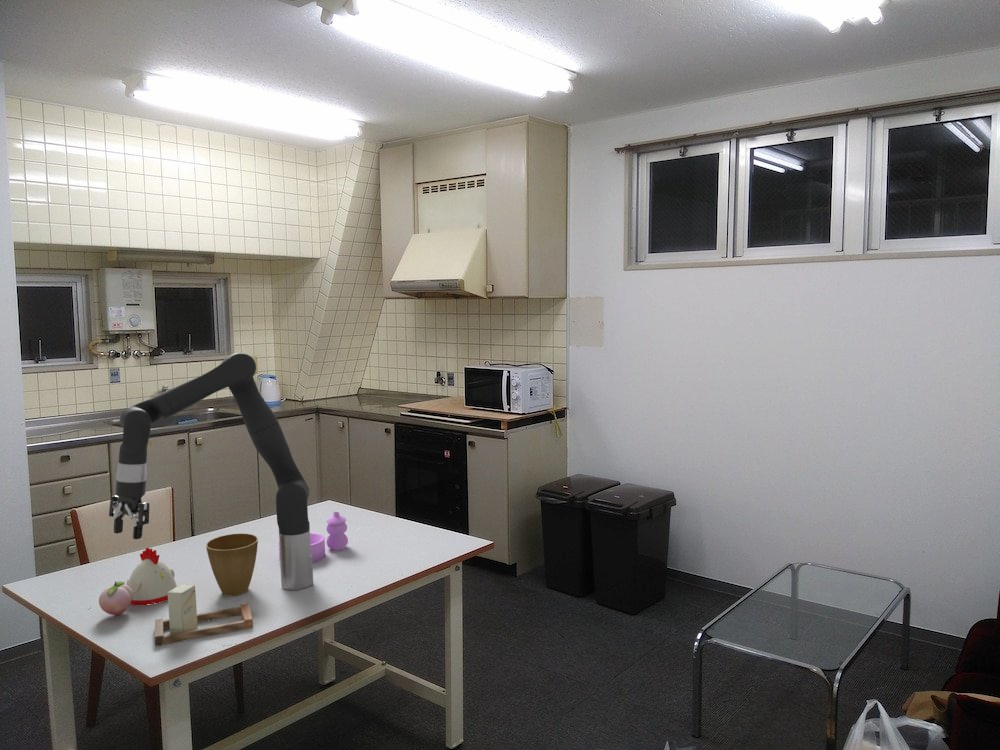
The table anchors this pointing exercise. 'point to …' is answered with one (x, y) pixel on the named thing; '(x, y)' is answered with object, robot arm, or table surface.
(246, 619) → the rectangular wooden frame
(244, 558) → the plant pot
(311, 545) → the container set
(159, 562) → the kitchen timer
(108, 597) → the decorative fruit
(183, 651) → the table surface
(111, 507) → the robot arm
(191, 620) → the skincare box
